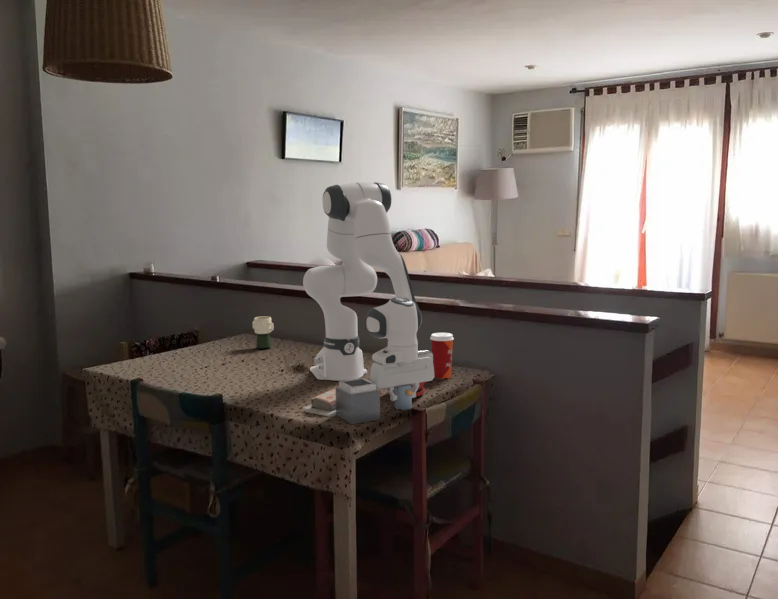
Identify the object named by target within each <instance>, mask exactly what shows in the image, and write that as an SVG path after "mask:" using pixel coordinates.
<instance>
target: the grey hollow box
mask: <svg viewBox="0 0 778 599" xmlns="http://www.w3.org/2000/svg"><path fill="white" fill-rule="evenodd" d="M335 388H336V414H335V416H337V417H338V418H340V417H341V418H340V419H342V420H343V419H344V421H345V420H346V421H347V422H346V421H345V422H346V423H348V422H349V423H348V424H349V425H351V424H353V425H357V423H358V424H361V423H368V422H373V421H378V420H381V391H379V389H376V384H375V383H373V382H371V381H370V379H369V380H368V379H366V378H365V377H360V378H358V379H353V380H345V381H338V386H337V387H335Z"/></svg>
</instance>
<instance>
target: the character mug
mask: <svg viewBox="0 0 778 599" xmlns="http://www.w3.org/2000/svg"><path fill="white" fill-rule="evenodd" d="M251 325H252V329H253V330H254V334H256V335H257V336H256V345H255V346H256V348H257V349H266V348H267V349H268V348H272V341H271V336H270V333H272V331H274V328H275V327H274V323H273V322H272V317H271V316H267V315H266V316H265V315H264V316H256V317H254V318H253V321H252V324H251Z"/></svg>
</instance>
